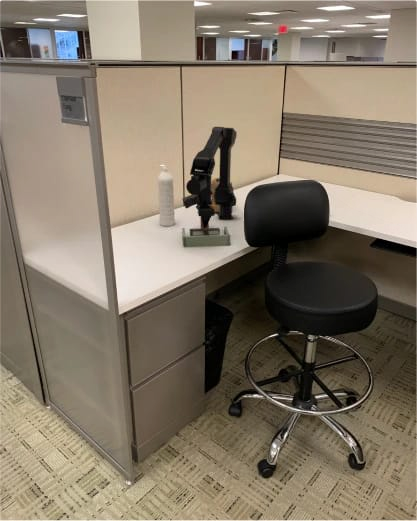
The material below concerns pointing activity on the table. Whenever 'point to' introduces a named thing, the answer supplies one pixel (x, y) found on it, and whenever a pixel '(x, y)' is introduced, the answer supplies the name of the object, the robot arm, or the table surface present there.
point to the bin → (206, 239)
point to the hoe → (204, 229)
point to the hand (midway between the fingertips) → (204, 225)
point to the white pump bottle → (166, 197)
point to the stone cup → (213, 186)
